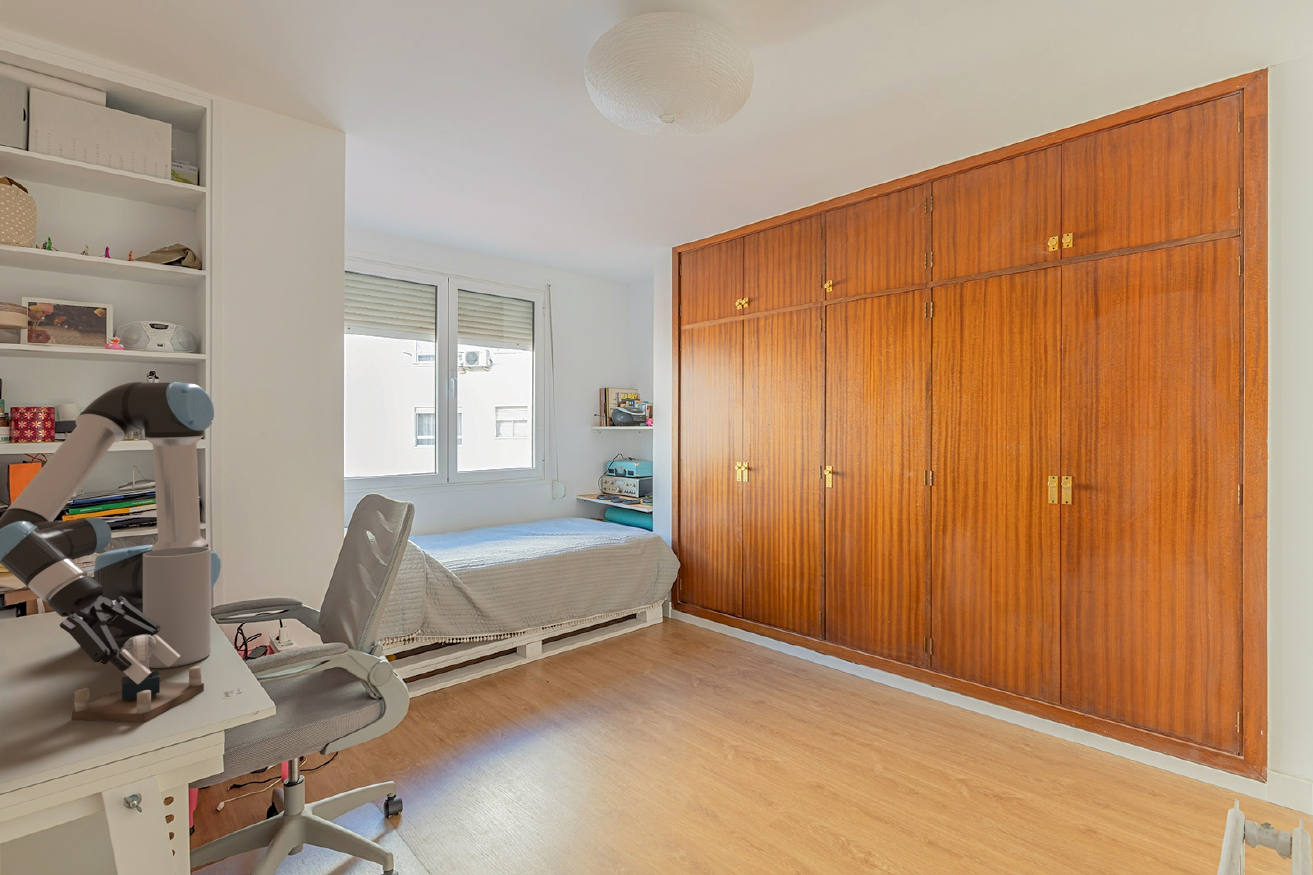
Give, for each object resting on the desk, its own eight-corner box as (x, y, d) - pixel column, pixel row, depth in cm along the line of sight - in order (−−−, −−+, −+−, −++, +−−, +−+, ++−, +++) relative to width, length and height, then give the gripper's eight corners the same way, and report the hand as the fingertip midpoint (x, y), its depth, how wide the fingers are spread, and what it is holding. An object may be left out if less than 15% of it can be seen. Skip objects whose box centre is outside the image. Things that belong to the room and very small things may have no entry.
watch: (157, 682, 127) (157, 628, 127) (160, 695, 121) (159, 638, 121) (121, 690, 123) (120, 634, 123) (121, 703, 117) (121, 644, 117)
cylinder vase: (139, 659, 146) (139, 551, 146) (205, 646, 155) (205, 544, 155) (146, 674, 137) (146, 559, 137) (215, 659, 146) (215, 551, 146)
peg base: (138, 688, 130) (138, 664, 130) (203, 690, 129) (203, 666, 129) (71, 719, 116) (71, 692, 116) (144, 722, 115) (144, 694, 115)
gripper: (94, 589, 131) (179, 664, 133) (3, 619, 110) (104, 707, 112) (122, 563, 131) (206, 638, 133) (36, 588, 111) (137, 676, 113)
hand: (160, 669), depth 123 cm, fingers open, 8 cm apart
